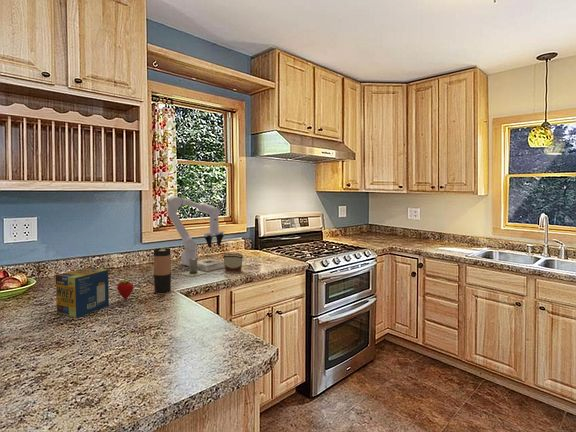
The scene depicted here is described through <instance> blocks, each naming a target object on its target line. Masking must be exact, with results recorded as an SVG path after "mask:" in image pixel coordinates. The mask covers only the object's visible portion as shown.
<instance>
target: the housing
mask: <svg viewBox="0 0 576 432" xmlns="http://www.w3.org/2000/svg"><path fill="white" fill-rule="evenodd" d="M221 269H225V265H224V260H218V259H214V258H206V259H201V260H197V270H198V271H202V272H206V273H209V272H211V271H215V270H221Z"/></svg>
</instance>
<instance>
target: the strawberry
mask: <svg viewBox="0 0 576 432" xmlns="http://www.w3.org/2000/svg"><path fill="white" fill-rule="evenodd" d="M117 283H118V284H117V286H116V289H117V292H118V293H119V295H120V296H121V297H122V298H123V299H124V300H127V299H128V298H129V297H130V296H131V294H132V292H133V291H134V284H133V283H132V282H131V280H130V279H127V280H126V279H125V278H123V279H122V281H118V282H117Z"/></svg>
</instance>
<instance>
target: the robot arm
mask: <svg viewBox="0 0 576 432" xmlns="http://www.w3.org/2000/svg"><path fill="white" fill-rule="evenodd" d="M166 204H167V205H166V206H167V208H166V209H167V210H166V213H167V216H168V218H169V219H170V221H171V223H172V224H173V226H174V228H175V229H176V231H177V233H178V234H179V236H180V237H181V239H182V242H183V246H184V249H183V250H182V251H181V253H180V256H181V257H180V258H181V259H180V261H181V262H180V265H182V266H183V265H184V266H187V267H189V259H191V258H197V248H198V244H197V242H196V241H195V240H193V237H191V235H190V234H189V232H188V230H187V229H186V227H185V225H184V224H183V222H182V220H181V219H180V218H179V216H178V214H177V213H178V210H179V208H181V206H189V207H192V208H195V209H197V210H198V212H201V213H203V214H207V215H209V231H208V232H204V233H203V235H204V239H205V241H206V244H207V247H208V248H212V241H213V236H215V237H216V245H217V246H220V247H221V244H222V243H221V242H222V240H223V239H224V234H225V233H224V232H225V231H223V230H221V231H220V228H219V227H220V226H219V224H220V223H219V221H220V220H219V219H220V218H219V215H220V214H221V212H220V209H219V208H218V207H215V206H213V205H212V204H211V205H210V204H207V203H206V202H200V203H198V202H195V201H193V200H190V199H189V198H188V199H187V198H183V197H178V196H174V195H173V196H171V197H169V198H168V200H167V203H166Z"/></svg>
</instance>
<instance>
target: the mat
mask: <svg viewBox="0 0 576 432" xmlns="http://www.w3.org/2000/svg"><path fill="white" fill-rule="evenodd" d="M205 274H207V272H206V271H202V270H197V273H196V274H190V273H189V271H184V272H180V275H183V276H187V277H190V278H193V277H198V276H202V275H205Z"/></svg>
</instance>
